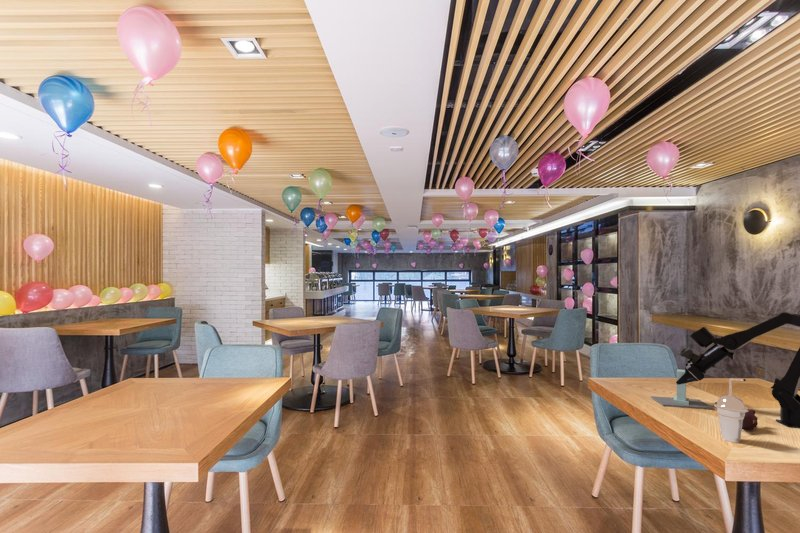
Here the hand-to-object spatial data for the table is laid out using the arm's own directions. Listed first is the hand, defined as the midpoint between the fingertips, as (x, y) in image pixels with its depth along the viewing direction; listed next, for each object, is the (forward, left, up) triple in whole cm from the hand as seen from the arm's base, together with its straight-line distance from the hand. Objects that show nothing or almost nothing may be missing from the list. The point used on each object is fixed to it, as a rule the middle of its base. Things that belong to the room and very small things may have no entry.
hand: (677, 381), depth 171 cm
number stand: (-1, -1, -8) cm, 8 cm away
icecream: (-28, -9, -9) cm, 31 cm away
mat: (-1, -1, -9) cm, 9 cm away
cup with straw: (-41, +2, -9) cm, 42 cm away
